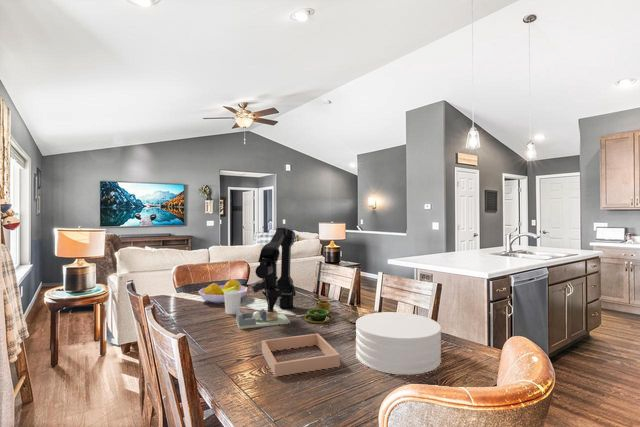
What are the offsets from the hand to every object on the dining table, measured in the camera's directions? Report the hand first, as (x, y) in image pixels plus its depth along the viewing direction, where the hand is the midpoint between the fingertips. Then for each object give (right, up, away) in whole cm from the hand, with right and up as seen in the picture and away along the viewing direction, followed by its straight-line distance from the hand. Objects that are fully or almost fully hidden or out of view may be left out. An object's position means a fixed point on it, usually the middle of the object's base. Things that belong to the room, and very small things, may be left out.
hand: (270, 308), depth 161 cm
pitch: (-3, -6, -1) cm, 7 cm away
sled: (-1, -4, 0) cm, 4 cm away
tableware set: (+33, -6, -1) cm, 33 cm away
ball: (-6, -3, -2) cm, 6 cm away
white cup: (-20, -6, +14) cm, 25 cm away
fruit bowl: (-31, -6, +38) cm, 49 cm away
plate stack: (+48, -6, -40) cm, 63 cm away
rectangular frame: (+15, -6, -41) cm, 44 cm away
